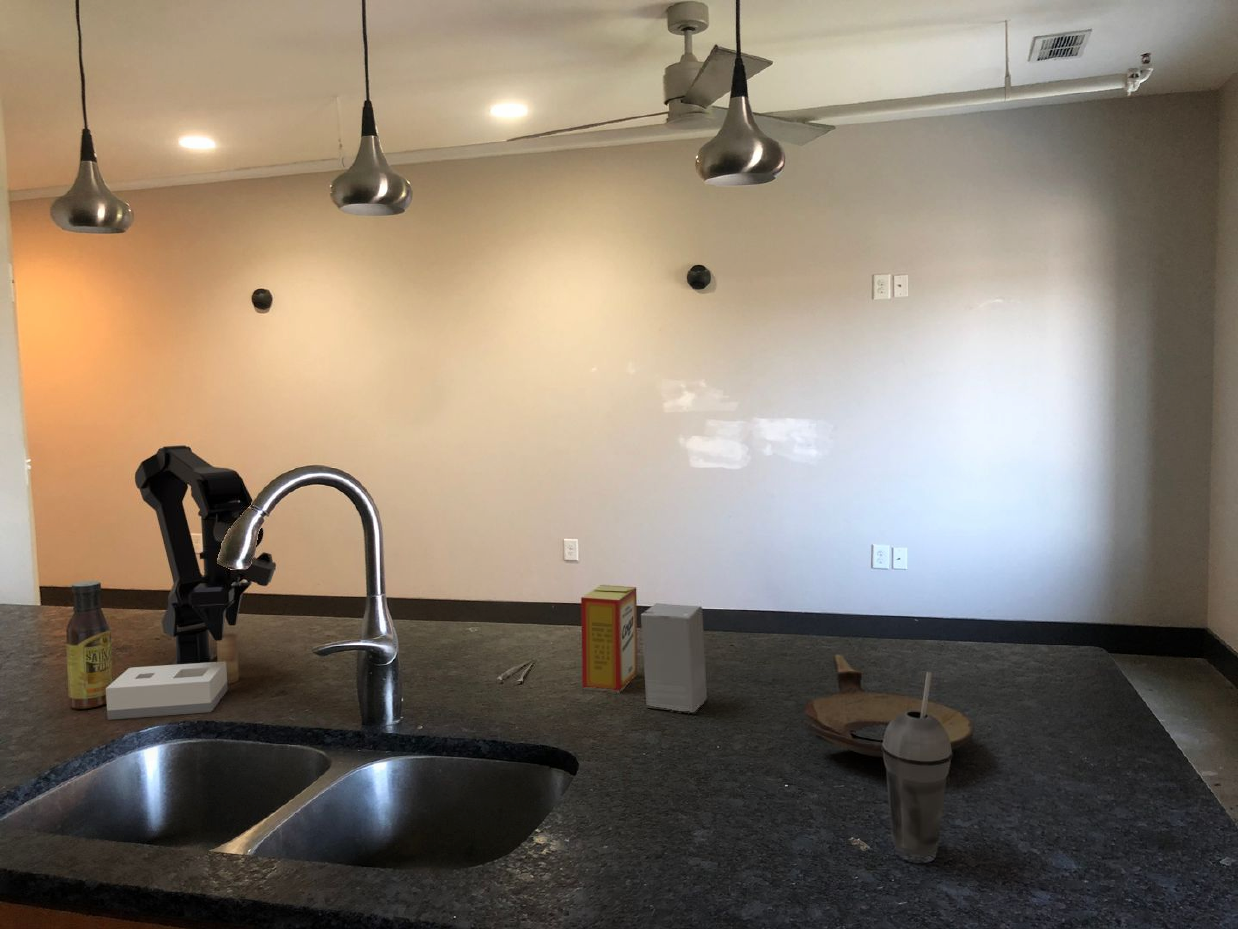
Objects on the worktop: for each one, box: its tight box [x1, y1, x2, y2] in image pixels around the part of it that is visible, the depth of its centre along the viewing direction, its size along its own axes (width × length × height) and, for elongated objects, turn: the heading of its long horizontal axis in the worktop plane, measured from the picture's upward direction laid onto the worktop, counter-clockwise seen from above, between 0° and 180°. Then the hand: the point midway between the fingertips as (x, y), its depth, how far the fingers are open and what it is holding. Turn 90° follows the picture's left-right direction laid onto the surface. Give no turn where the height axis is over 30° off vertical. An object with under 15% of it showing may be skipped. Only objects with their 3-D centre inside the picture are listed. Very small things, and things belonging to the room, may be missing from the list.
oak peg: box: [216, 632, 240, 685], centre depth 152 cm, size 3×3×8 cm
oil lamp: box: [804, 653, 975, 758], centre depth 124 cm, size 22×30×8 cm
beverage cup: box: [881, 671, 953, 856], centre depth 94 cm, size 7×7×20 cm
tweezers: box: [496, 660, 532, 682], centre depth 157 cm, size 17×5×2 cm, turn 165°
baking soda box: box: [580, 584, 638, 691], centre depth 149 cm, size 10×6×16 cm
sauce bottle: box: [65, 580, 114, 710], centre depth 141 cm, size 7×6×20 cm
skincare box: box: [640, 603, 708, 713], centre depth 137 cm, size 8×7×16 cm
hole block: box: [106, 661, 229, 721], centre depth 141 cm, size 10×15×5 cm, turn 100°
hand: (225, 632), depth 152 cm, fingers open, 9 cm apart
